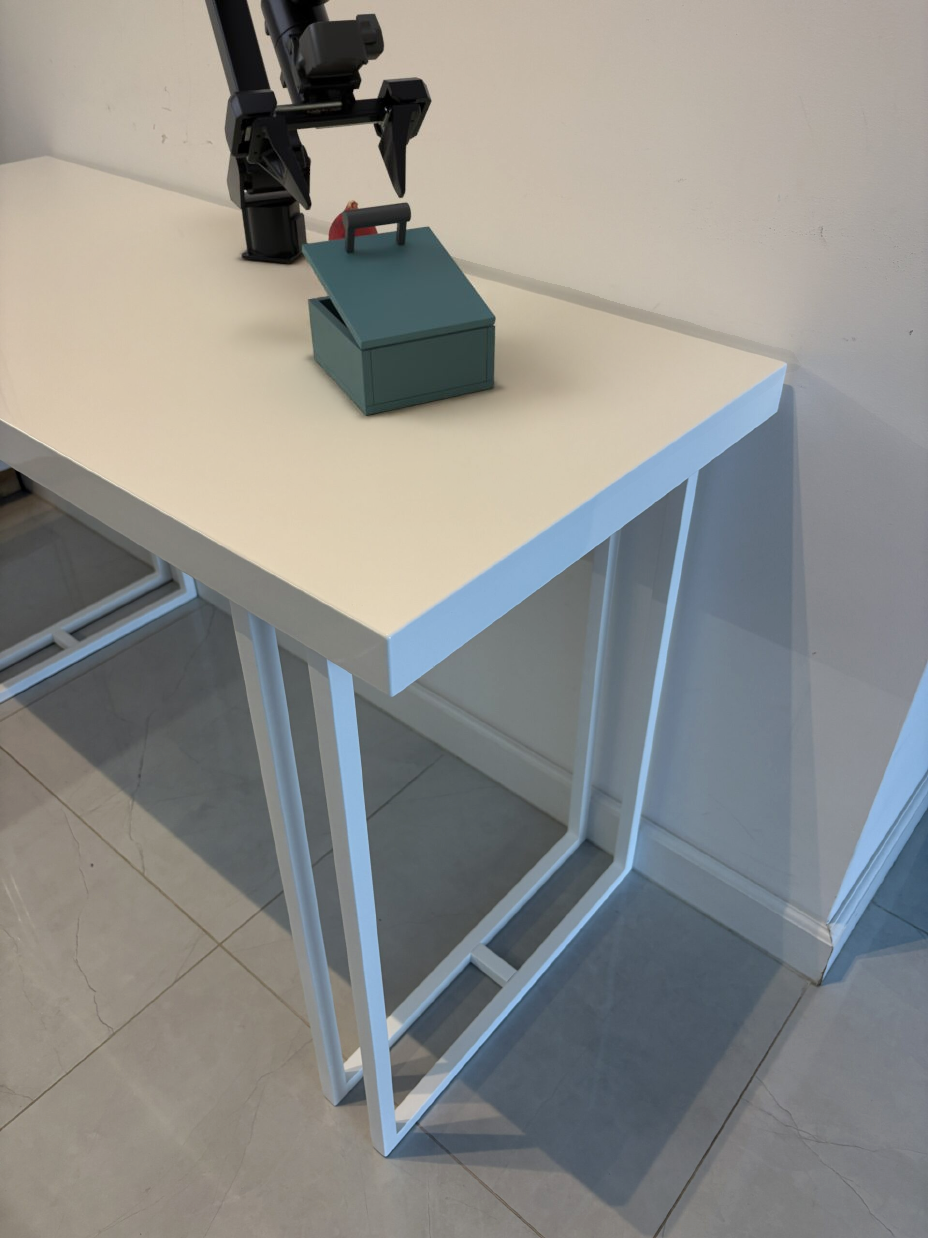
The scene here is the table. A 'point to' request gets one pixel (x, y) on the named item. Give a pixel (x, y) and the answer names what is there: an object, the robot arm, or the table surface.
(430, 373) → the cool box
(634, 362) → the table surface
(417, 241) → the cool box lid
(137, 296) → the table surface
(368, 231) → the onion
